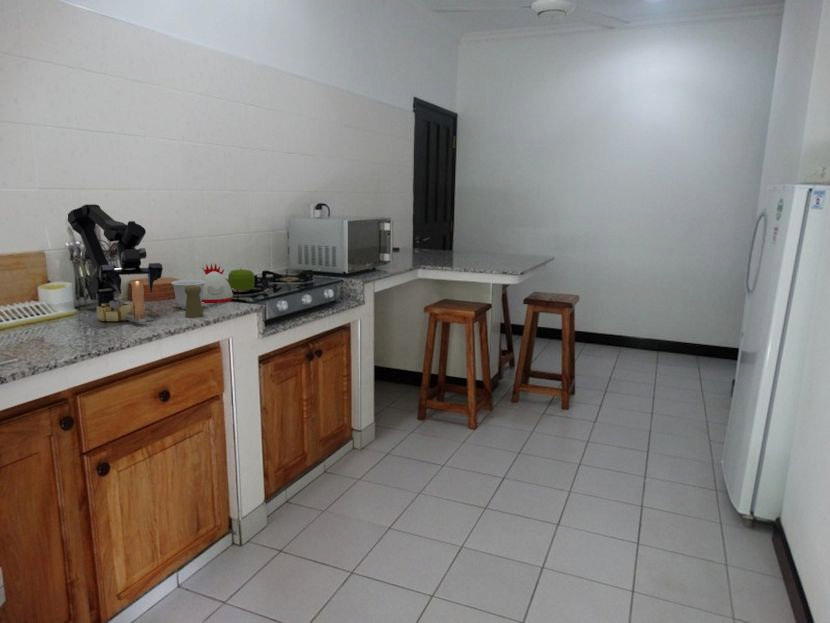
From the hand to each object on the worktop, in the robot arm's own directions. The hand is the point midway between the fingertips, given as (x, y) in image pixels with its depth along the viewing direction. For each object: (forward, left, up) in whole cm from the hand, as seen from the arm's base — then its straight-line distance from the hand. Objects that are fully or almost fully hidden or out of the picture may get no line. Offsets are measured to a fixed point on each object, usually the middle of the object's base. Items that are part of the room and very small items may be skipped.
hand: (136, 292), depth 189 cm
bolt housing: (-7, -4, -10) cm, 13 cm away
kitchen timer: (-21, +38, -10) cm, 44 cm away
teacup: (-10, +23, -10) cm, 27 cm away
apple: (-31, +55, -10) cm, 64 cm away
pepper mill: (+3, +18, -10) cm, 21 cm away
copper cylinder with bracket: (-2, -3, -9) cm, 10 cm away
